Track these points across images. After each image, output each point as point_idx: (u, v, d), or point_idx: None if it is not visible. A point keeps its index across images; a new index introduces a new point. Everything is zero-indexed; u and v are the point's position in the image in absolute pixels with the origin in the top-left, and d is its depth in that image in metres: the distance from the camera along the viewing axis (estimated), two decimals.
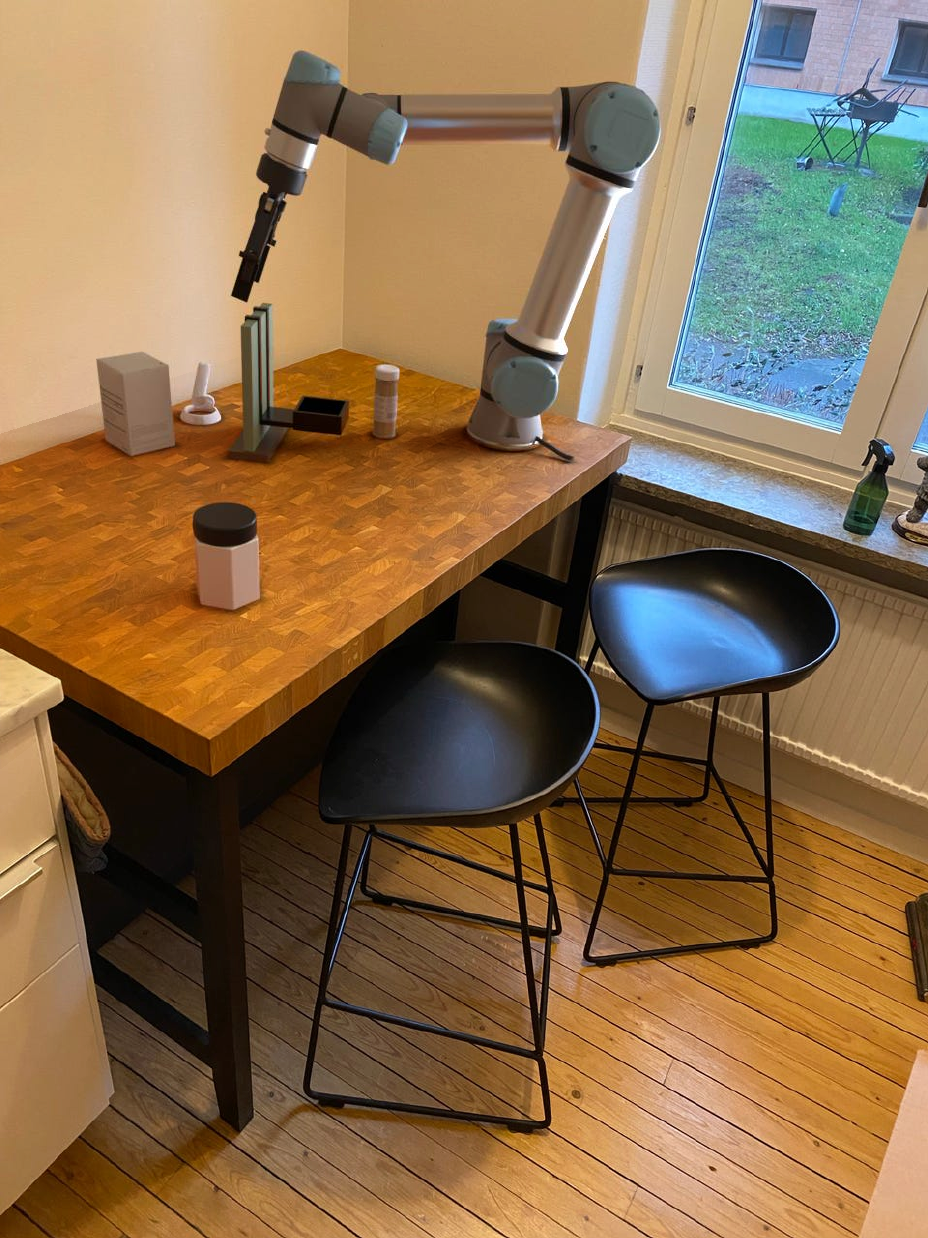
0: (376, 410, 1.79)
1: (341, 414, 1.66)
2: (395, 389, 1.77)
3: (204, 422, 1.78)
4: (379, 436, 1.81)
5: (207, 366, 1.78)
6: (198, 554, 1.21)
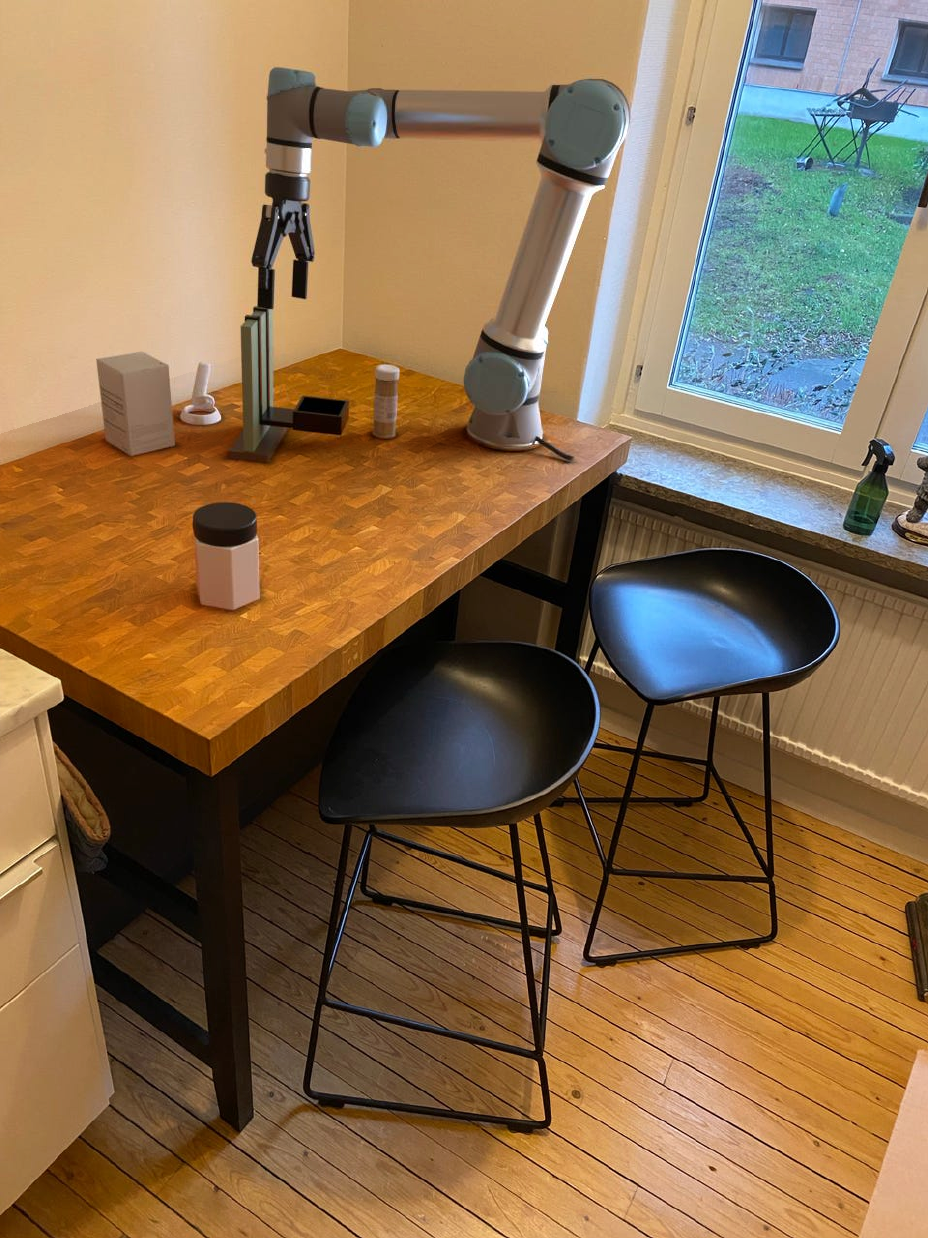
0: (376, 410, 1.79)
1: (341, 414, 1.66)
2: (395, 389, 1.77)
3: (204, 422, 1.78)
4: (379, 436, 1.81)
5: (207, 366, 1.78)
6: (198, 554, 1.21)
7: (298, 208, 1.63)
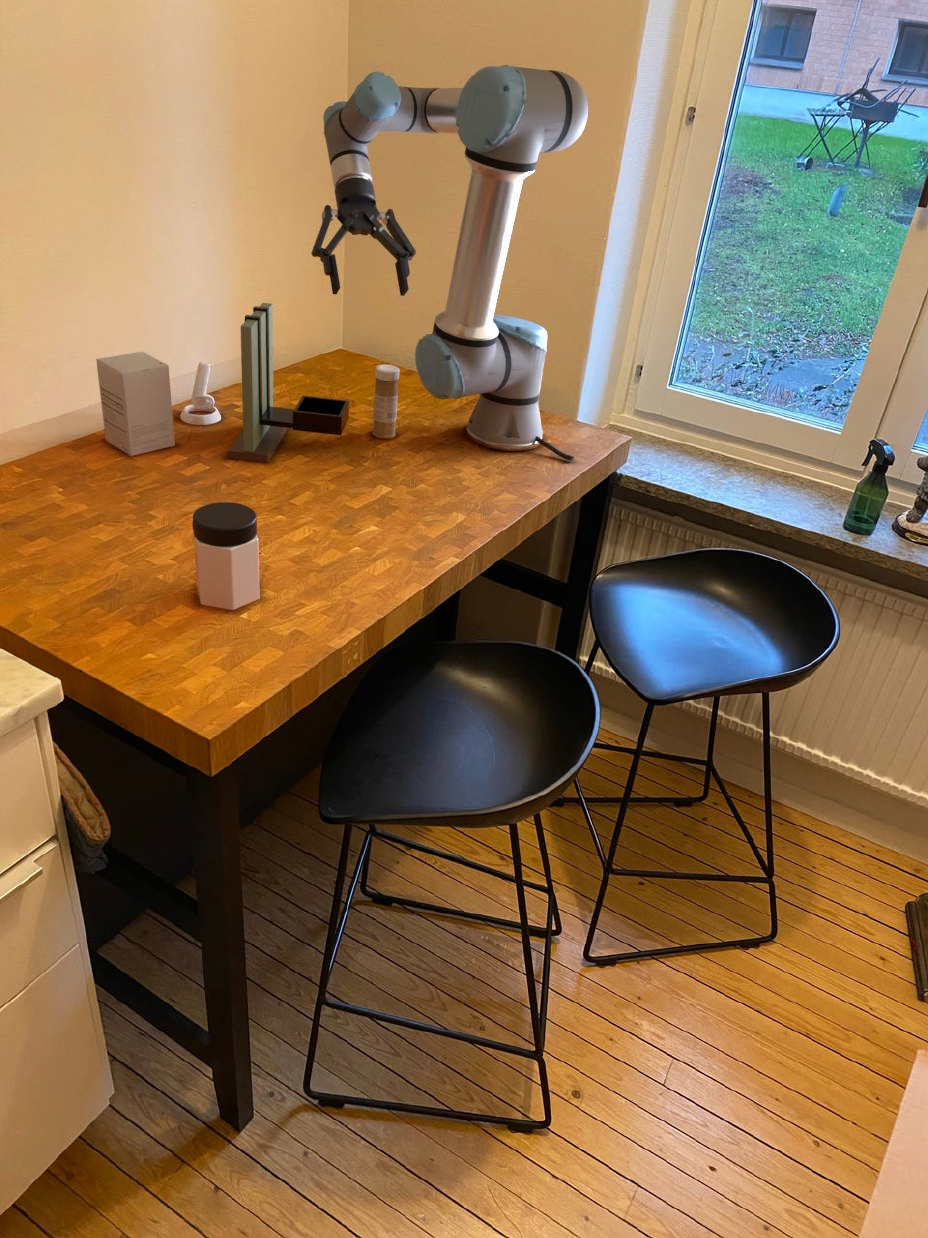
0: (376, 410, 1.79)
1: (341, 414, 1.66)
2: (395, 389, 1.77)
3: (204, 422, 1.78)
4: (379, 436, 1.81)
5: (207, 366, 1.78)
6: (198, 554, 1.21)
7: (371, 210, 1.79)
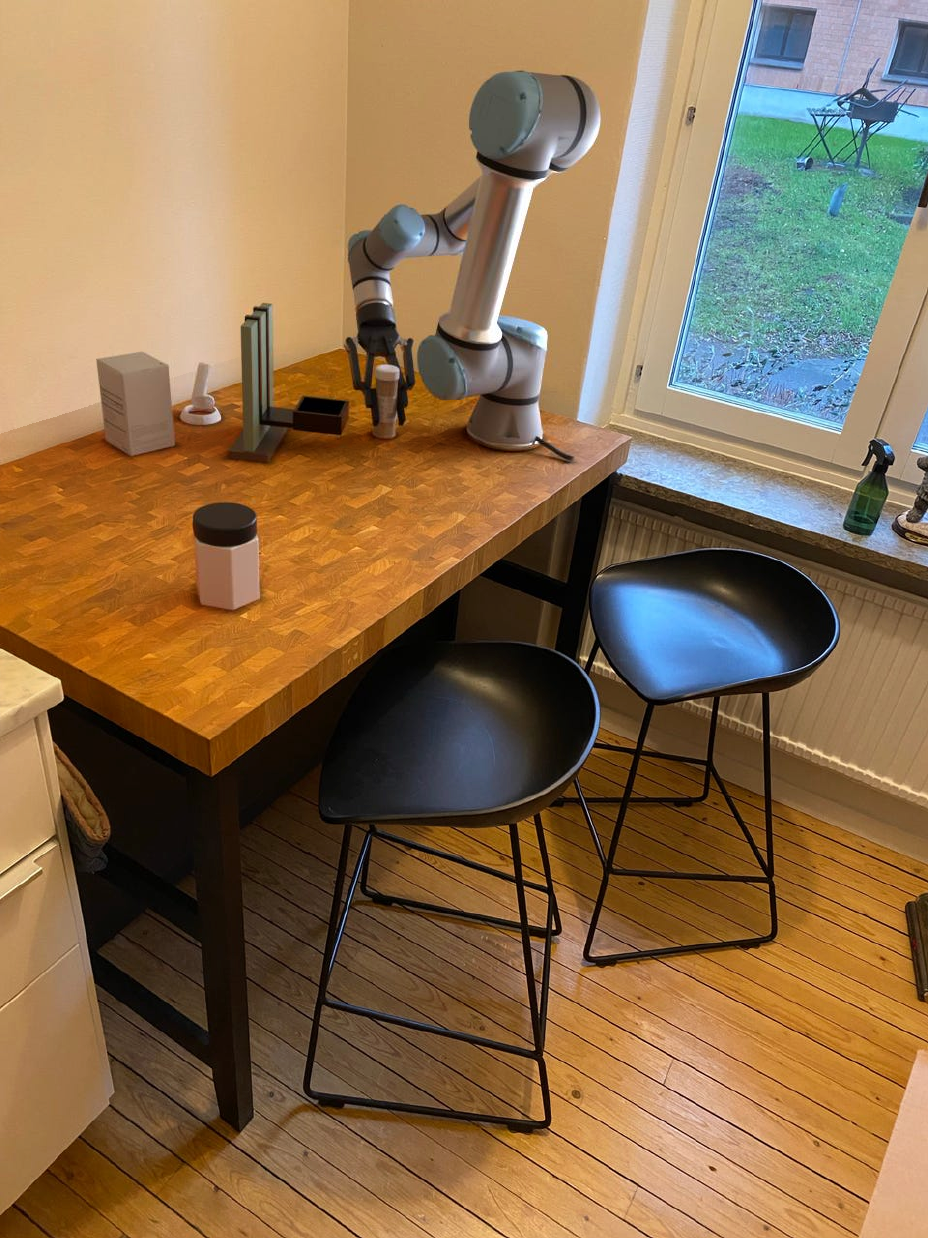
0: None
1: (341, 414, 1.66)
2: (395, 389, 1.77)
3: (204, 422, 1.78)
4: (379, 436, 1.81)
5: (207, 366, 1.78)
6: (198, 554, 1.21)
7: (392, 332, 1.81)
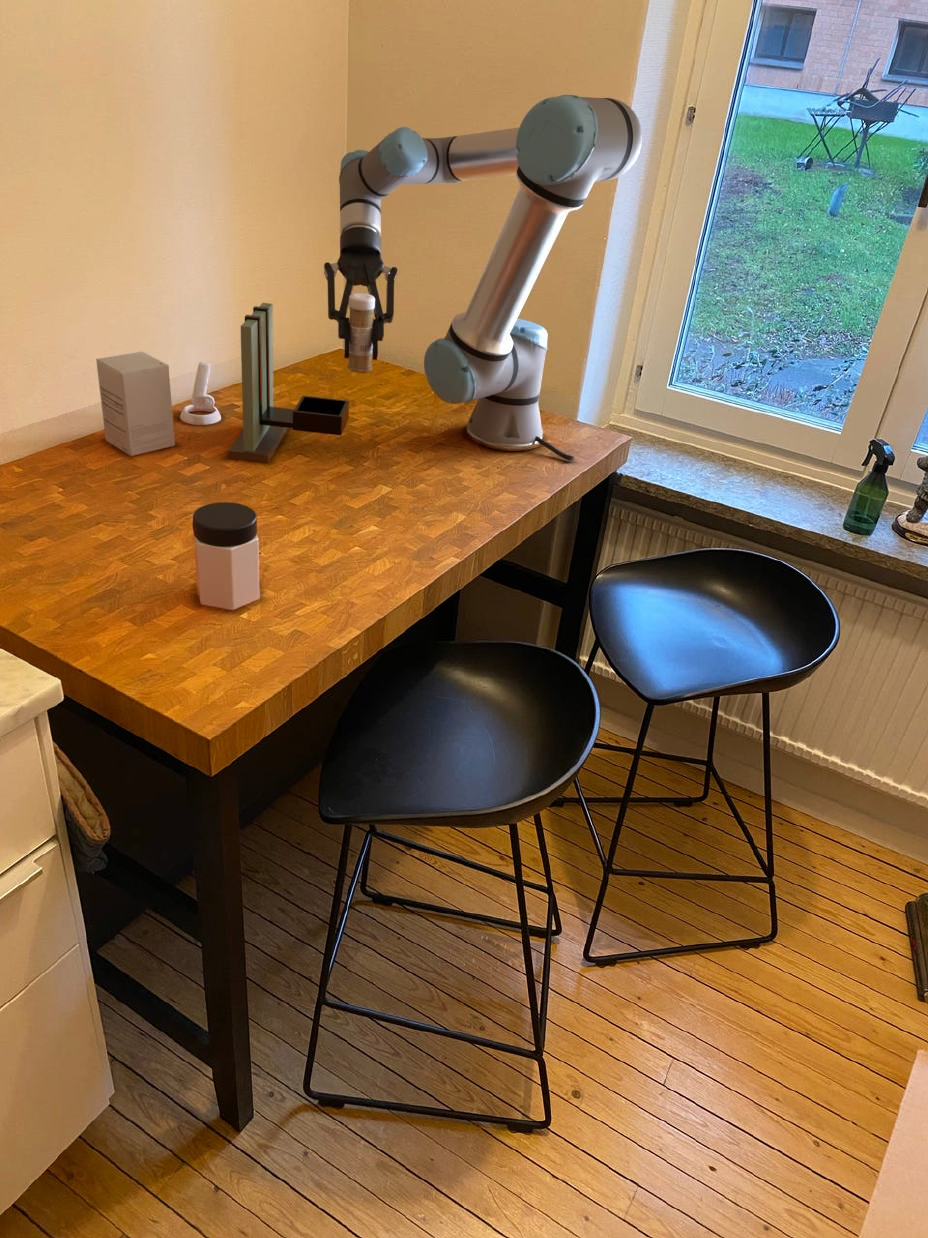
0: (349, 341, 1.69)
1: (341, 414, 1.66)
2: (369, 320, 1.67)
3: (204, 422, 1.78)
4: (353, 370, 1.72)
5: (207, 366, 1.78)
6: (198, 554, 1.21)
7: (375, 259, 1.71)
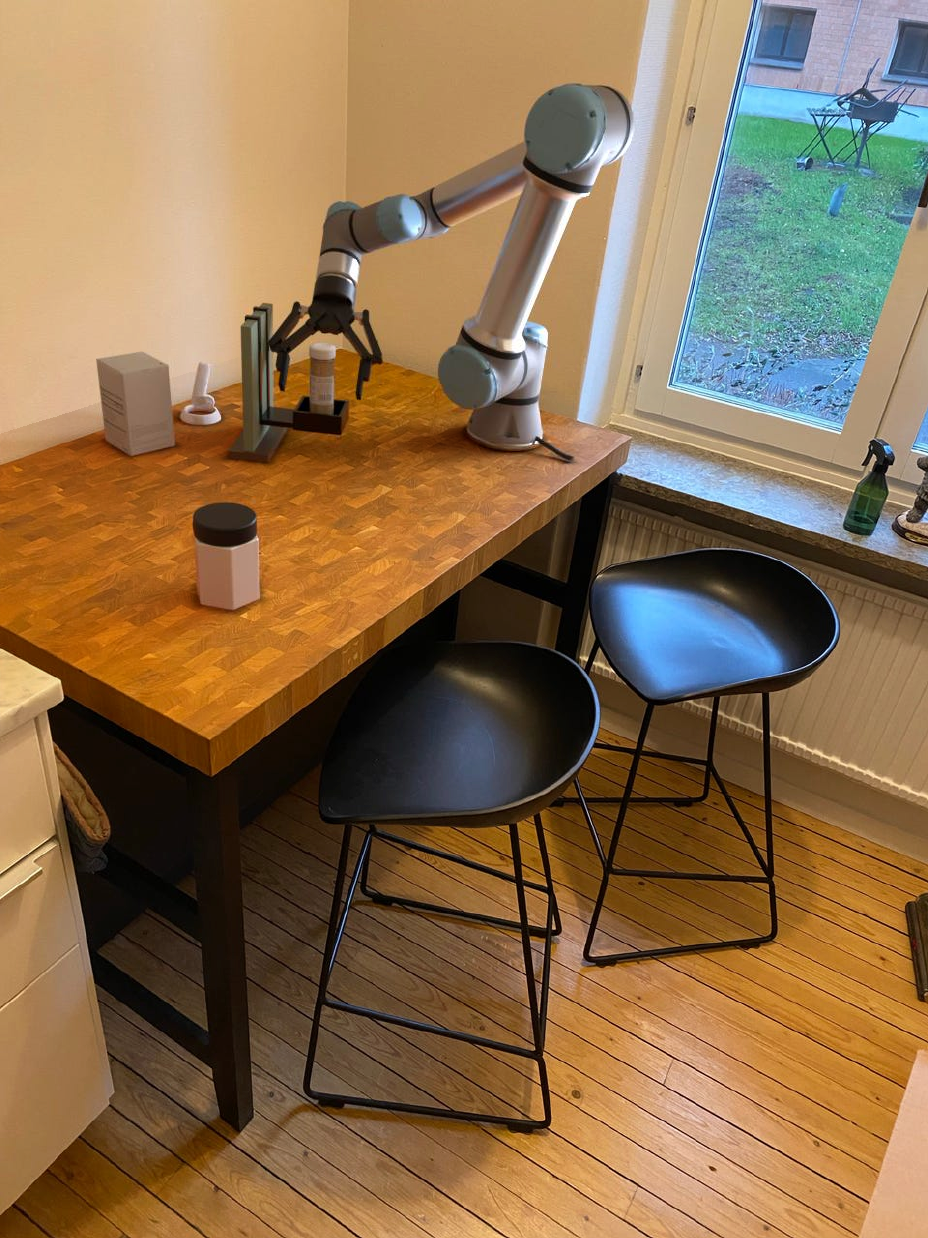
0: None
1: (341, 414, 1.66)
2: (328, 369, 1.64)
3: (204, 422, 1.78)
4: None
5: (207, 366, 1.78)
6: (198, 554, 1.21)
7: (344, 310, 1.68)
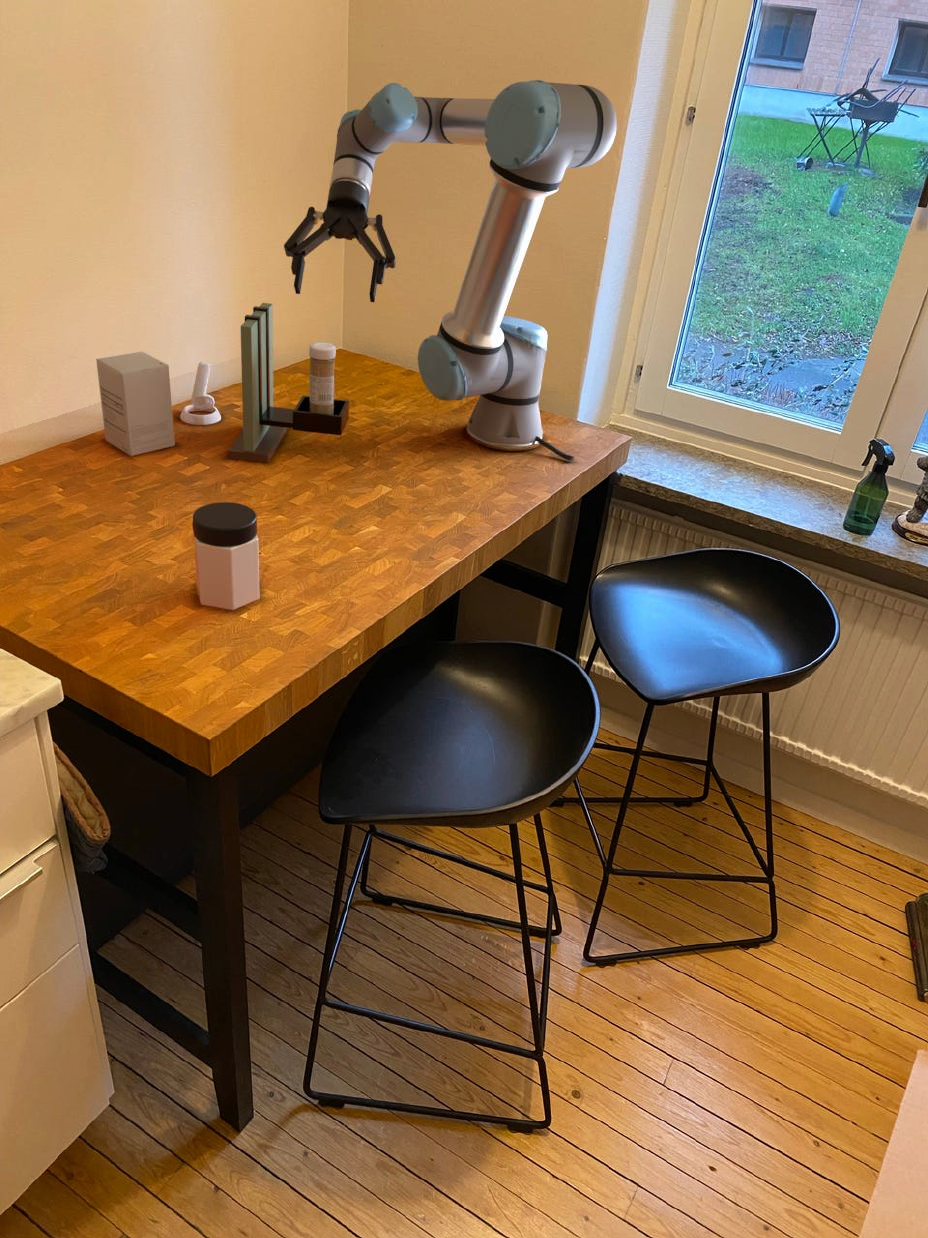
0: (310, 390, 1.67)
1: (341, 414, 1.66)
2: (328, 369, 1.64)
3: (204, 422, 1.78)
4: None
5: (207, 366, 1.78)
6: (198, 554, 1.21)
7: (358, 215, 1.72)
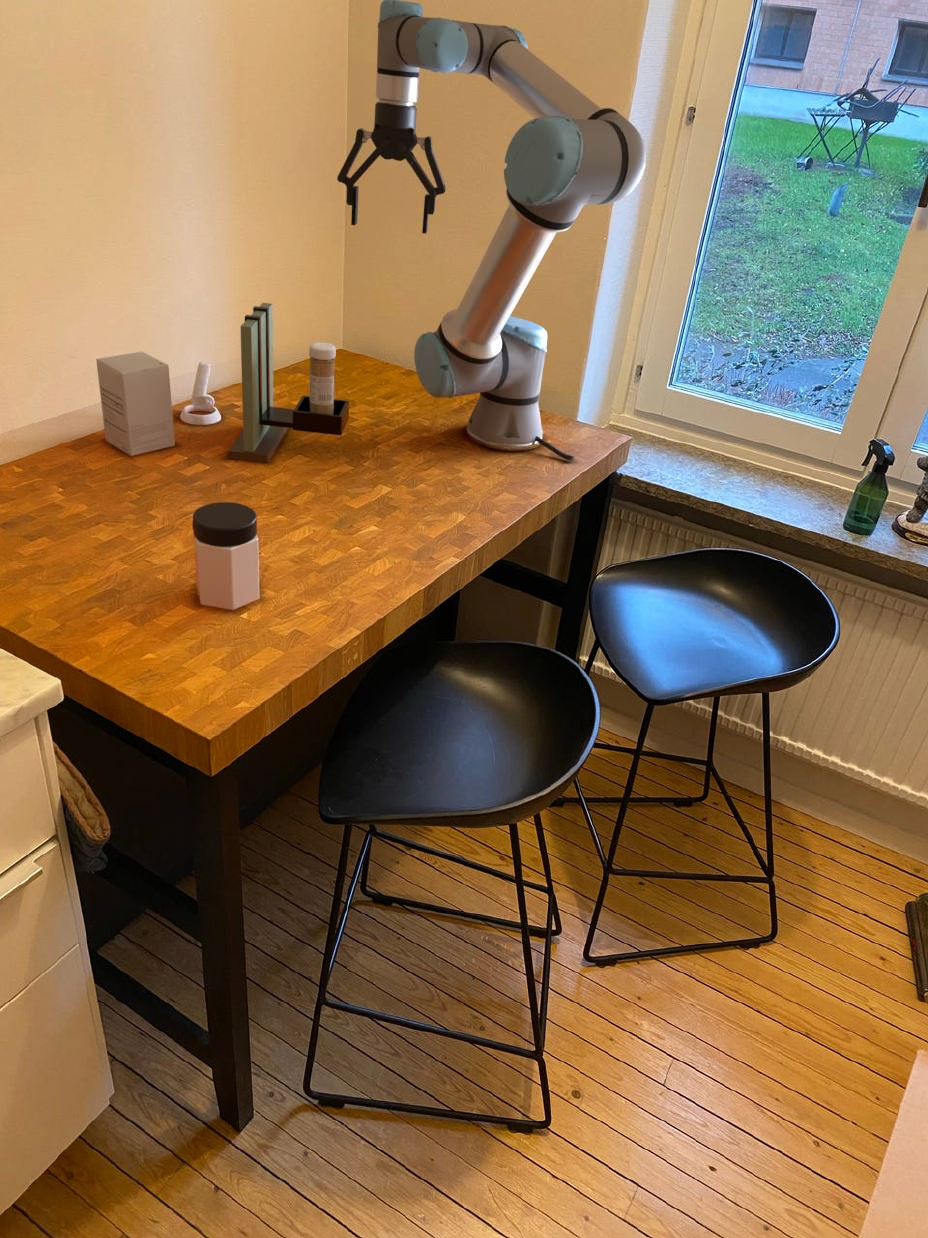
0: (310, 390, 1.67)
1: (341, 414, 1.66)
2: (328, 369, 1.64)
3: (204, 422, 1.78)
4: None
5: (207, 366, 1.78)
6: (198, 554, 1.21)
7: (406, 138, 1.71)
